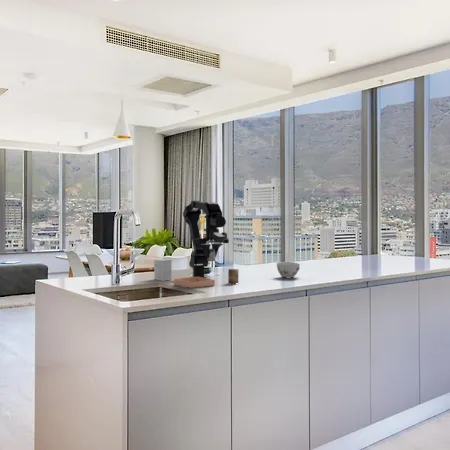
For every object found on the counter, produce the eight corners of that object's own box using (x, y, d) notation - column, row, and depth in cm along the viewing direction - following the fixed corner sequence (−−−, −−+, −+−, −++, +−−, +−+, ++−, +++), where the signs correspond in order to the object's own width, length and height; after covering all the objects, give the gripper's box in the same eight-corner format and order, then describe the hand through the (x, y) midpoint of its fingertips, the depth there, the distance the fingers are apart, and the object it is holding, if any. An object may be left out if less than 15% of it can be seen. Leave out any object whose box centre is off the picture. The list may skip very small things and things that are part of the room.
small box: (171, 280, 267) (171, 259, 266) (162, 281, 263) (162, 260, 263) (162, 278, 273) (163, 258, 272) (153, 279, 269) (154, 259, 269)
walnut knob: (226, 283, 257) (226, 269, 257) (234, 282, 260) (234, 268, 260) (232, 284, 253) (232, 270, 253) (240, 283, 256) (240, 269, 256)
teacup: (287, 279, 273) (287, 264, 272) (271, 277, 283) (271, 262, 282) (307, 277, 281) (307, 263, 281) (291, 275, 292) (291, 261, 291)
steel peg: (205, 260, 262) (205, 249, 262) (212, 260, 265) (212, 248, 265) (210, 261, 259) (210, 249, 259) (216, 260, 262) (216, 249, 262)
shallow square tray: (174, 284, 250) (174, 278, 250) (198, 282, 258) (198, 276, 258) (190, 288, 239) (190, 282, 239) (214, 286, 247) (214, 279, 247)
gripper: (206, 227, 249) (206, 259, 250) (235, 227, 261) (235, 258, 262) (192, 227, 258) (192, 258, 258) (221, 226, 270) (221, 256, 270)
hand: (211, 257), depth 262 cm, fingers closed on steel peg, 4 cm apart
